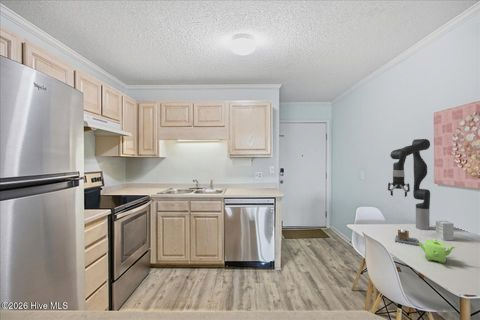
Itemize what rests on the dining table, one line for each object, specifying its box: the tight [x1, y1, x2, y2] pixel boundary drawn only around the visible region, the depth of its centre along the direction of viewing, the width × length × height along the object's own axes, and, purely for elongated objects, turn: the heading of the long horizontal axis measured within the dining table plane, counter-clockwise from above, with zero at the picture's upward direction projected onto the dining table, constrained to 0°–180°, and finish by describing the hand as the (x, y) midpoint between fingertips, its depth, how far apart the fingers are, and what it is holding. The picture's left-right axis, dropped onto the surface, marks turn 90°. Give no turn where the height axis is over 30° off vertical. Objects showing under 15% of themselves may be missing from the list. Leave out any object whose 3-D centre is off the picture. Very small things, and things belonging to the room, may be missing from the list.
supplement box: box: [435, 220, 455, 241], centre depth 174 cm, size 7×7×13 cm
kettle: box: [418, 238, 456, 264], centre depth 141 cm, size 15×14×11 cm
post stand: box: [394, 228, 419, 247], centre depth 171 cm, size 13×13×8 cm
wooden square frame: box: [397, 229, 410, 240], centre depth 171 cm, size 6×6×4 cm
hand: (398, 196), depth 185 cm, fingers open, 8 cm apart
